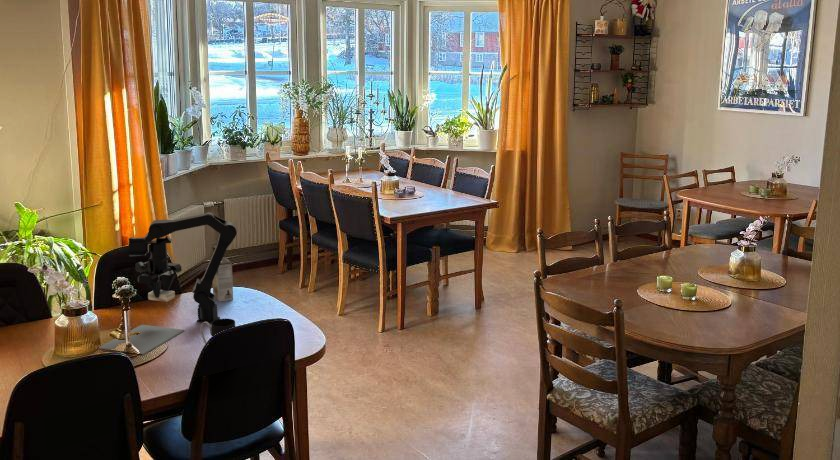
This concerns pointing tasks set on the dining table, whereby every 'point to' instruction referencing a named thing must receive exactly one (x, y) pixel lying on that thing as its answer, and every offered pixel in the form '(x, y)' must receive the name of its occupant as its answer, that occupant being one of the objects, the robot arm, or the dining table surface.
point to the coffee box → (223, 281)
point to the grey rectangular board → (146, 338)
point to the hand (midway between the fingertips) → (161, 295)
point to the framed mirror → (162, 295)
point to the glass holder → (218, 326)
